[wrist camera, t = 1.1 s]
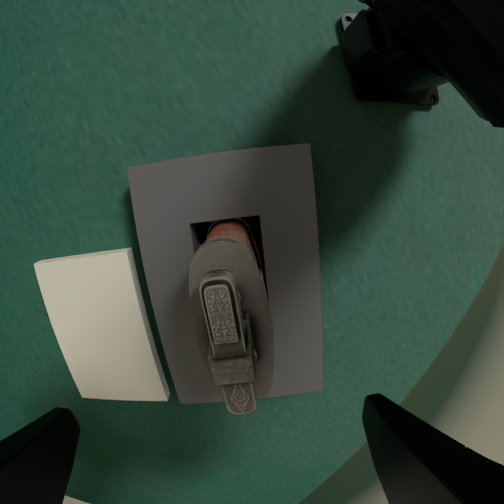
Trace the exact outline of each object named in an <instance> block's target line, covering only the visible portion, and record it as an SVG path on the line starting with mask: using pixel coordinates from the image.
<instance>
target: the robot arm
mask: <svg viewBox="0 0 504 504" xmlns="http://www.w3.org/2000/svg"><path fill="white" fill-rule="evenodd" d="M358 1H360V2H361V3H365V4H367V5H368V6H369V9H368V10H361V11H360V12H359V13H358V14H353V13H344V14H343V15H342V16H341V18H340V23H341V28H342V32H343V33H342V34H341V35H340V39H341V44H342V49H343V55H344V60H345V66H346V69H347V70H348V71H349V72H350V74H351V80H352V86H353V92H354V96H355V98H356V99H357V100H358V101H362V102H389V103H406V104H419V105H430V106H432V105H437V104H438V102H439V96H438V90H437V86H439V85H442V84H445V83H448V82H450V83H451V84H452V85H453V87H454V88H455V89H456V90H457V91H458V92H459V93H460V94H461V96H462V97H463V98H464V99H465V100H466V102H467V103H468V104H469V105H470V106H471V108H472V109H473V110H474V111H475V113H476V114H477V115H478V116H479V117H481V118H483V119H485V120H486V121H490V123H491V124H492V126H493V127H501V128H504V0H358ZM345 18H347V19H349V20H350V21H351V22H347V21H346V20H345ZM360 91H363V92H364V94H365V96H364V97H363V96H361V95H360V93H359V92H360ZM431 96H432V97H433V101H432V100H431V98H430V97H431ZM362 421H363V425H364V429H365V433H366V437H367V441H368V445H369V448H370V452H371V456H372V460H373V464H374V466H375V469H376V472H377V474H378V477H379V479H380V482H381V484H382V487H383V490H384V492H385V495H386V497H387V500H388V503H389V504H504V465H501V464H499V463H497V462H495V461H492V460H490V459H488V458H486V457H484V456H482V455H481V454H479V453H477V452H475V451H473V450H472V449H470V448H468V447H466V448H465V445H463V444H461V443H459V442H458V441H456V440H454V439H453V438H451V437H449V436H448V435H446V434H444V433H443V432H441V431H439V430H438V429H436V428H434V427H433V426H431V425H430V424H428V423H426V422H425V421H423V420H421V419H420V418H418V417H417V416H415V415H413V414H412V413H410V412H409V411H407V410H405V409H404V408H402V407H401V406H399V405H398V404H396V403H394V402H393V401H391V400H390V399H388V398H387V397H385V396H384V395H382V394H380V393H376V394H371V395H367V396H366V397H365V400H364V407H363V413H362ZM79 434H80V426H79V424H78V422H77V420H76V418H75V417H74V415H73V413H72V411H71V410H70V409H69V408H68V407H62V406H58V407H56V408H54V409H53V410H51V411H49V412H48V413H46V414H45V415H43V416H41V417H40V418H38V419H36V420H35V421H33V422H32V423H30V424H28V425H27V426H25V427H23V428H22V429H20V430H18V431H17V432H15V433H13V434H12V435H10V436H8V437H7V438H5V439H3V440H2V441H0V504H62V503H63V499H64V496H65V492H66V489H67V485H68V482H69V479H70V475H71V472H72V468H73V463H74V458H75V453H76V448H77V443H78V439H79Z"/></svg>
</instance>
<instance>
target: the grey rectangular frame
mask: <svg viewBox="0 0 504 504" xmlns="http://www.w3.org/2000/svg"><path fill="white" fill-rule="evenodd" d="M127 171H128V179H129V186H130V193H131V200H132V206H133V212H134V218H135V224H136V230H137V236H138V241H139V246H140V251H141V257H142V262H143V266H144V271H145V276H146V280H147V285H148V289H149V294H150V298H151V302H152V306H153V311H154V315H155V319H156V323H157V326H158V330H159V334H160V338H161V341H162V345H163V349H164V352H165V356H166V359H167V363H168V366H169V370H170V373H171V376H172V379H173V383H174V386H175V389H176V392H177V395H178V398H179V401H180V404H193V403H215V402H226V401H225V398H224V396H222V395H221V394H220V393H219V391H218V390H217V388H216V386H215V385H214V383H213V381H212V379H211V377H210V375H209V373H208V371H207V369H206V367H205V365H204V362H203V359H202V356H201V353H200V351H199V348H198V345H197V342H196V339H195V334H194V329H193V323H192V317H191V310H190V303H189V266H190V261H191V259H192V257H193V255H194V254H195V252H196V251H197V249H198V248H199V247H200V239H199V232H198V226H197V223H199V222H207V221H215V220H223V219H231V218H240V217H248V216H257V215H258V217H259V227H260V236H261V245H262V254H263V264H264V273H265V282H266V292H267V298H268V304H269V310H270V315H271V319H272V324H273V335H274V356H275V360H274V369H273V379H272V386H271V388H270V391H269V392H268V393H267V394H266V395H265V396H263V397H261V398H259V399H264V398H273V397H281V396H288V395H296V394H302V393H309V392H315V391H321V390H322V303H321V276H320V256H319V239H318V224H317V211H316V198H315V186H314V176H313V165H312V156H311V146H310V143H306V144H292V145H280V146H269V147H259V148H249V149H240V150H232V151H224V152H216V153H209V154H202V155H195V156H189V157H182V158H176V159H170V160H165V161H159V162H153V163H148V164H143V165H138V166H133V167H128V168H127Z"/></svg>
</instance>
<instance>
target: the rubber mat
mask: <svg viewBox="0 0 504 504" xmlns="http://www.w3.org/2000/svg"><path fill="white" fill-rule="evenodd" d="M34 268H35V271H36V275H37V279H38V282H39V286H40V289H41V293H42V296H43V299H44V303H45V306H46V309H47V312H48V315H49V318H50V321H51V324H52V326H53V329H54V332H55V335H56V337H57V340H58V343H59V345H60V348H61V350H62V353H63V355H64V358H65V360H66V363H67V365H68V367H69V370H70V372H71V374H72V376H73V379H74V381H75V383H76V385H77V387H78V390H79V392H80V394H81V396H82V398H93V399H108V400H130V401H168V399H169V395H170V391H169V388H168V385H167V382H166V379H165V376H164V373H163V369H162V366H161V363H160V360H159V356H158V353H157V349H156V346H155V342H154V339H153V335H152V332H151V328H150V324H149V320H148V317H147V313H146V309H145V305H144V301H143V296H142V292H141V288H140V284H139V279H138V275H137V270H136V266H135V261H134V256H133V251H132V247H131V248H124V249H116V250H109V251H102V252H95V253H87V254H80V255H73V256H66V257H59V258H53V259H46V260H40V261H38V262H37V263H35V264H34Z"/></svg>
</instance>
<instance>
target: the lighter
mask: <svg viewBox="0 0 504 504" xmlns="http://www.w3.org/2000/svg"><path fill="white" fill-rule="evenodd" d="M189 303H190V310H191V317H192V323H193V329H194V334H195V339H196V342H197V345H198V348H199V351H200V353H201V356H202V359H203V362H204V365H205V367H206V369H207V371H208V373H209V375H210V377H211V379H212V381H213V383H214V385H215V386H216V388H217V390H218V391H219V393H220V394H221V395H222V396H224V398H225V401H226V405H227V408H228V410H229V411H230V412H231V413H233V414H247V413H251V412H253V411H254V410H255V409H256V400H257V399H259V398H261V397H263V396H265V395H266V394H267V393H268V392H269V391H270V388H271V386H272V379H273V369H274V360H275V356H274V335H273V324H272V319H271V315H270V310H269V304H268V298H267V293H266V289H265V284H264V276H263V271H262V266H261V261H260V257H259V252H258V248H257V245H256V242H255V239H254V237H253V234H252V231H251V228H250V225H249V224H248V222H247V221H246V220H245V219H244V218H242V217H240V218H231V219H223V220H215V221H213V222H212V224H211V225H210V227H209V228H208V233H207V239H206V241H205V243H204V244H202V245H201V246H200V247H199V248H198V249H197V251H196V252H195V254H194V255H193V257H192V259H191V261H190V266H189Z"/></svg>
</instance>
